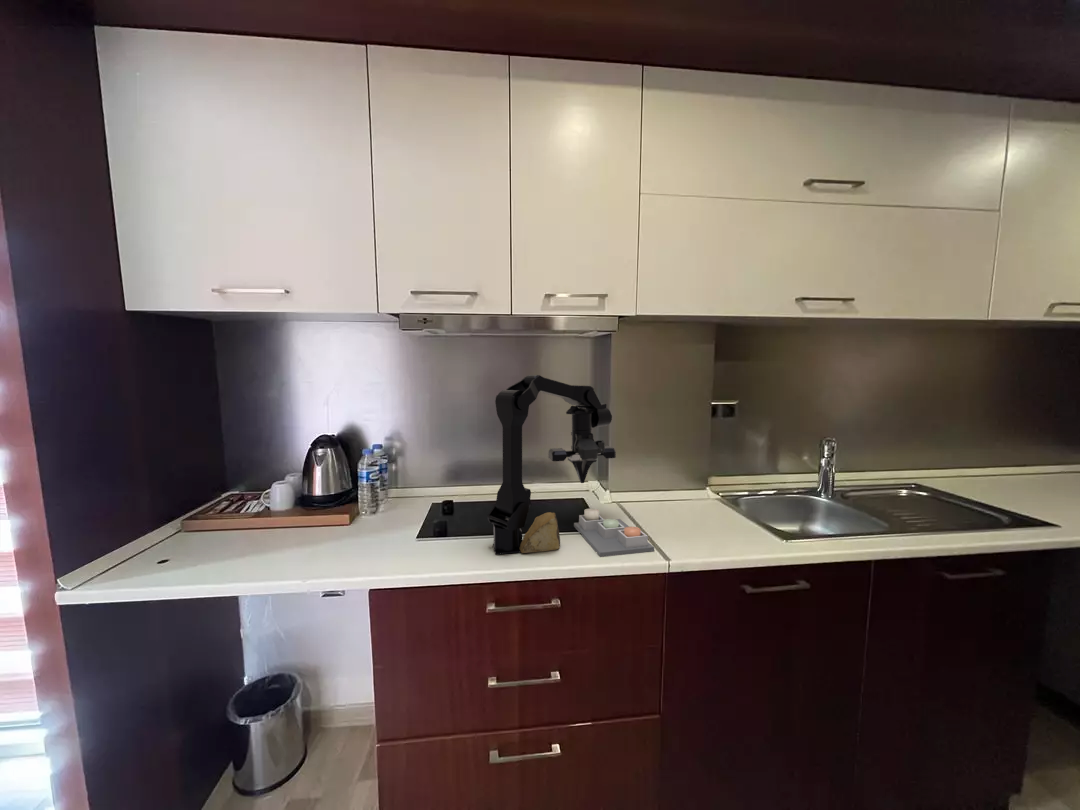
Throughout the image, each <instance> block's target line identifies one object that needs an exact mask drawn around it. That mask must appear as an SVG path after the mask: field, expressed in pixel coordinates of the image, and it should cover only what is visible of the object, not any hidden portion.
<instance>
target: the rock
mask: <svg viewBox="0 0 1080 810" xmlns="http://www.w3.org/2000/svg"><path fill="white" fill-rule="evenodd" d="M560 547H561V537H560V530H559V525H558V518H557V516H556V512H551V511H550V512H549V511H548V512H545V513H543V514H540V515H538V516H536V517H535V518H534V521H533V523H532V524H531V525H530V527H529V528H528V530H527V532H525V533H524V535H523V536H522V542H521V544H520V548H519V549H520V551H521V552H520V553H521V554H527V553H536V552H549V551H556V550H559V549H560Z"/></svg>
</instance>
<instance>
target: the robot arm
mask: <svg viewBox="0 0 1080 810" xmlns="http://www.w3.org/2000/svg"><path fill="white" fill-rule="evenodd" d="M539 393H542V394H546V395H550V396H553V397H557V398H561V399H563V400H564V401H565V402H566V403H568V404H569V405H571V406H570V407H569V409H567V410H566V412H565V413H566V415H571V432H570V436H571V446H570V449H571V450H566V449H564V448H562V447H556V448H555V447H554V448H549V450H548V453H547V454H548V456H547V457H548V459H549V460H551V461H552V462H564V461H566V459H567V461H569V462H570V463H572V465H573V467H574V471H575V472H576V476H577V478H578V480H579V482H580V483H581V484H584V483H585V481H586V479H587V478H586V477H587V476H588V472H589V470H590V468H591V466H592V464H594V463H596V462H597V459H598V456H602V457H603V458H605V459H607V460H608V459H616V458H617V455H616V454H617V450H616V449H615V448H614V447H612V446H610V445H605V441H604V440H594V434H593V431H592V430H593V428H600V427H607V426H609V425H610V424H611V423H612V420H613V415H612V412H611V410H610V409H609V408H608V407H607V404H606V403H601V402H600V399H599V398H598V396H597V394H596V392H595V388H594V387H593V386H591V385H577V384H575V385H574V384H573V385H571V384H568V383H564V382H561V381H557V380H555V379H550V378H548V377H544V376H542V375H541V374H529V375H526V376H524V377H523V378H522V379H521V380H518V382H516V383H514V384H512V385H511V386H509V387H508V388H506V389H504V390H501V391H500V392H499V393H498V394H497V395H496V396H495V400H494V403H495V409H496V411H495V412H496V415H497V417H498V420H499V421H500V424H501V425H502V426H501V427H502V483H501V484H500V486H499V489H498V490H497V494H496V500H495V504H494V505H493V507H492V508H491V510H490V512H488V514H487V518H486V519H487V520H488V523H489V524H492V525H493V543H492V547H493V551H494V554H495V555H496V556H497V555H498V556H499V555H509V554H518V553H521V551H520V549H519V548H520V544H521V542H522V540H523V530H522V529H523V528H525V525H526V521H527V517H528V514H529V512H530V507H531V506H532V502H531V495H532V492H531V488H527V487H526V486H525V485H524V483H523V426H524V424H525V421H526V420H527V418H528V417H529V409H530V406H531V404H533V403H534V402H535V401H536V400H537V398H538V395H539Z"/></svg>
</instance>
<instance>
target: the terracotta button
mask: <svg viewBox="0 0 1080 810" xmlns="http://www.w3.org/2000/svg"><path fill="white" fill-rule="evenodd" d="M641 531H642V530H641V528H639V527H637V526H629V527H626V528H624V534H625V535H626V536H627V537H634V536H641Z"/></svg>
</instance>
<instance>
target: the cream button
mask: <svg viewBox="0 0 1080 810" xmlns="http://www.w3.org/2000/svg"><path fill="white" fill-rule="evenodd" d="M583 515H584V516H585V520H586V521H591V520H599V515H600V511H599V508H592V507H591V508H586V509H584V514H583Z"/></svg>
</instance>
